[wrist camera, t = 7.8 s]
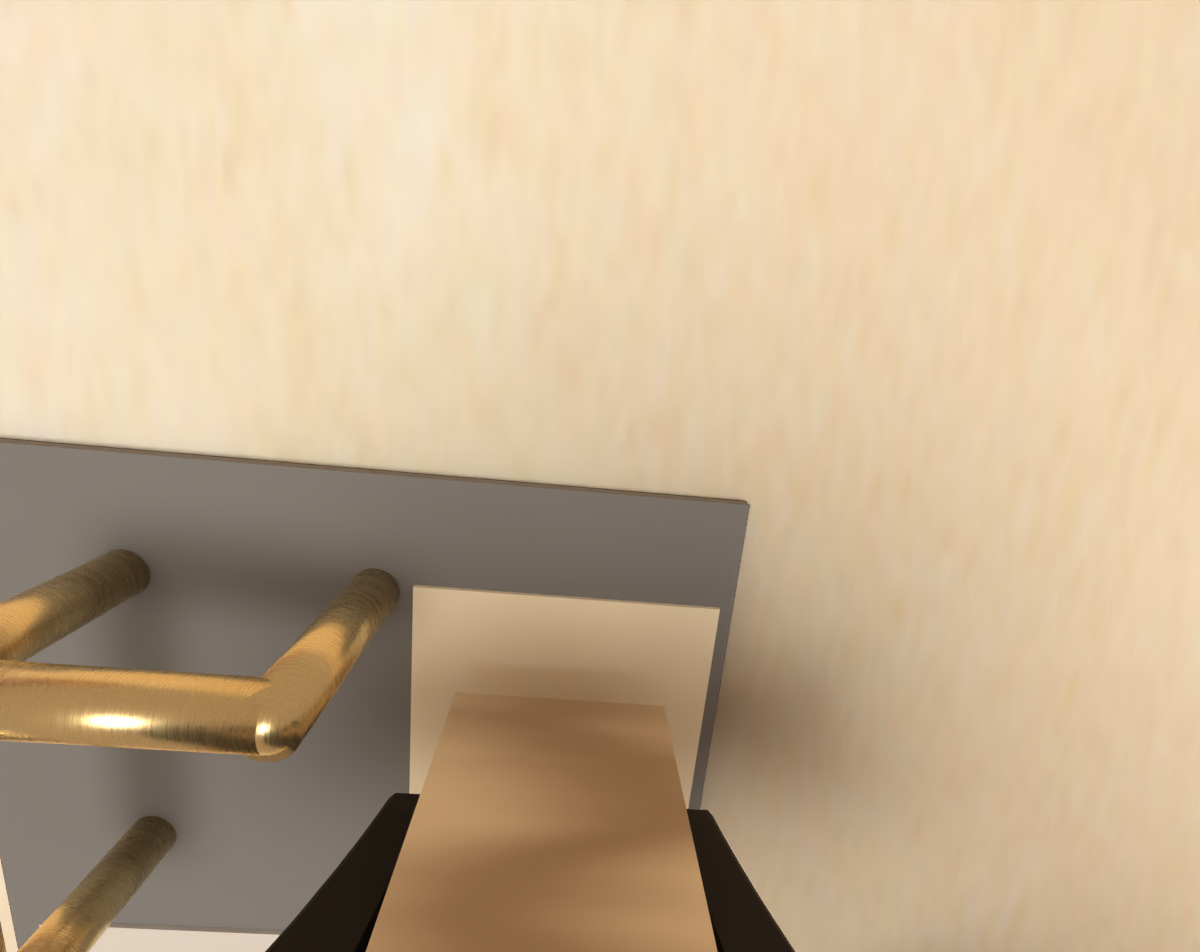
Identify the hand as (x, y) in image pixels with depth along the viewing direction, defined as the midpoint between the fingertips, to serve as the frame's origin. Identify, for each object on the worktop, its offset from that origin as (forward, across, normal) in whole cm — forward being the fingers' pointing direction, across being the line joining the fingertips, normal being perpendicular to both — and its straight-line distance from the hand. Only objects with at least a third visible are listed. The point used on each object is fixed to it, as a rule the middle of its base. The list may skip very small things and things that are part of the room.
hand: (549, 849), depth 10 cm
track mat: (+3, +4, +3) cm, 6 cm away
